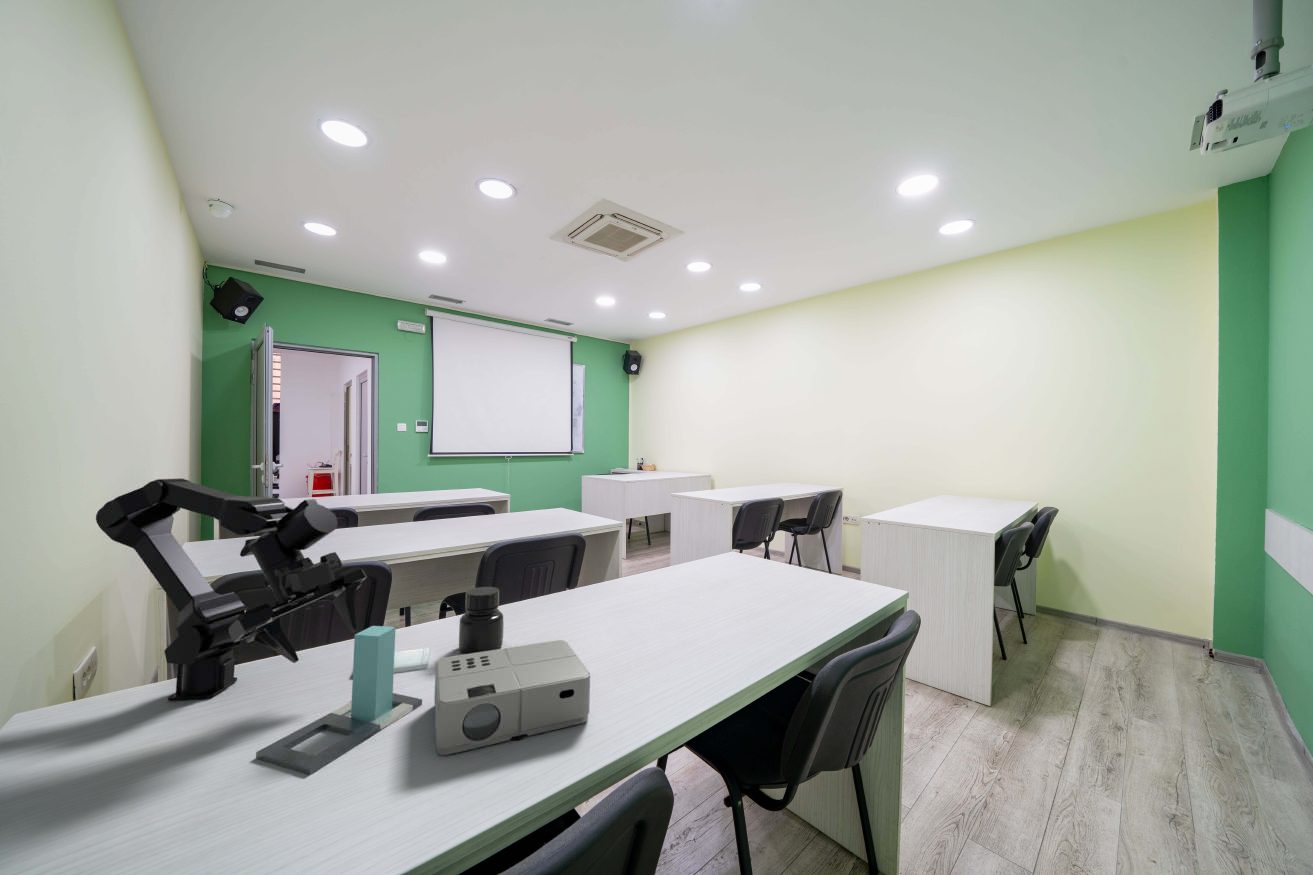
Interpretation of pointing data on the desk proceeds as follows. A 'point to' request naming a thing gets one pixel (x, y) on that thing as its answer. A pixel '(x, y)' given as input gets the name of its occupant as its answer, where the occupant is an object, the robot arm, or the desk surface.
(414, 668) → the hard drive
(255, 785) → the desk surface
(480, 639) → the ink bottle
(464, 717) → the projector
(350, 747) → the panel
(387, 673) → the plug
